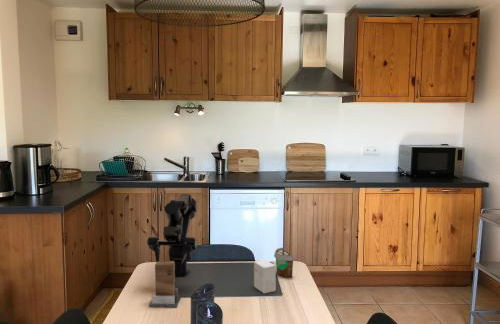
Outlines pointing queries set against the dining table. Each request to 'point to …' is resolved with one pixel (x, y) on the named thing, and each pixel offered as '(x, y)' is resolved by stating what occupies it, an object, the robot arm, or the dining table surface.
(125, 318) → the dining table surface
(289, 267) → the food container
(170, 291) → the brown wooden block
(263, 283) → the small box
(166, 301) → the hinge base
